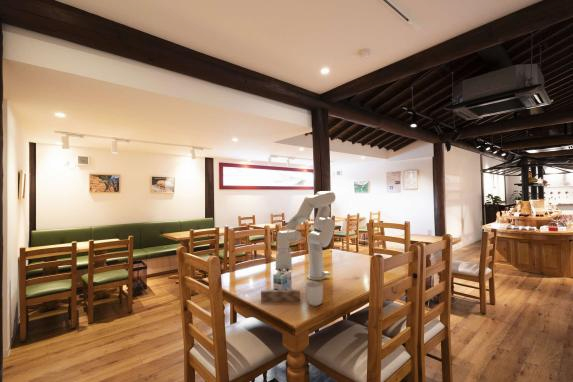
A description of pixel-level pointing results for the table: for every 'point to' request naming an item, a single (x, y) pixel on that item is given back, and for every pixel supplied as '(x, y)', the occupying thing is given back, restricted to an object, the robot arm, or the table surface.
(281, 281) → the light bulb box
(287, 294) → the walnut board
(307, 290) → the mug
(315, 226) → the robot arm
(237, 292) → the table surface
